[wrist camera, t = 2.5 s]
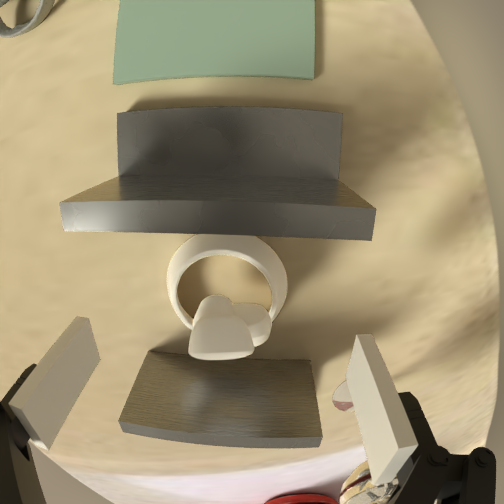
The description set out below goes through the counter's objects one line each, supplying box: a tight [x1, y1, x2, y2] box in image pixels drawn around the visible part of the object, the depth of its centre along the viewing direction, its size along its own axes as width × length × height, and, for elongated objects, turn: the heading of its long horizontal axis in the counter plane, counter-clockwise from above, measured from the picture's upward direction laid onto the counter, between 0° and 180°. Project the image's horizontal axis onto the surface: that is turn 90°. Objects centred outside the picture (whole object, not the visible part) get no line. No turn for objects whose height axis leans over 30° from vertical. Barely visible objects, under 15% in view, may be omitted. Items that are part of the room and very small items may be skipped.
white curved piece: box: [167, 234, 288, 360], centre depth 16 cm, size 8×12×7 cm
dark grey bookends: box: [60, 107, 376, 448], centre depth 17 cm, size 21×12×7 cm, turn 179°
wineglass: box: [333, 381, 437, 504], centre depth 18 cm, size 7×7×12 cm
